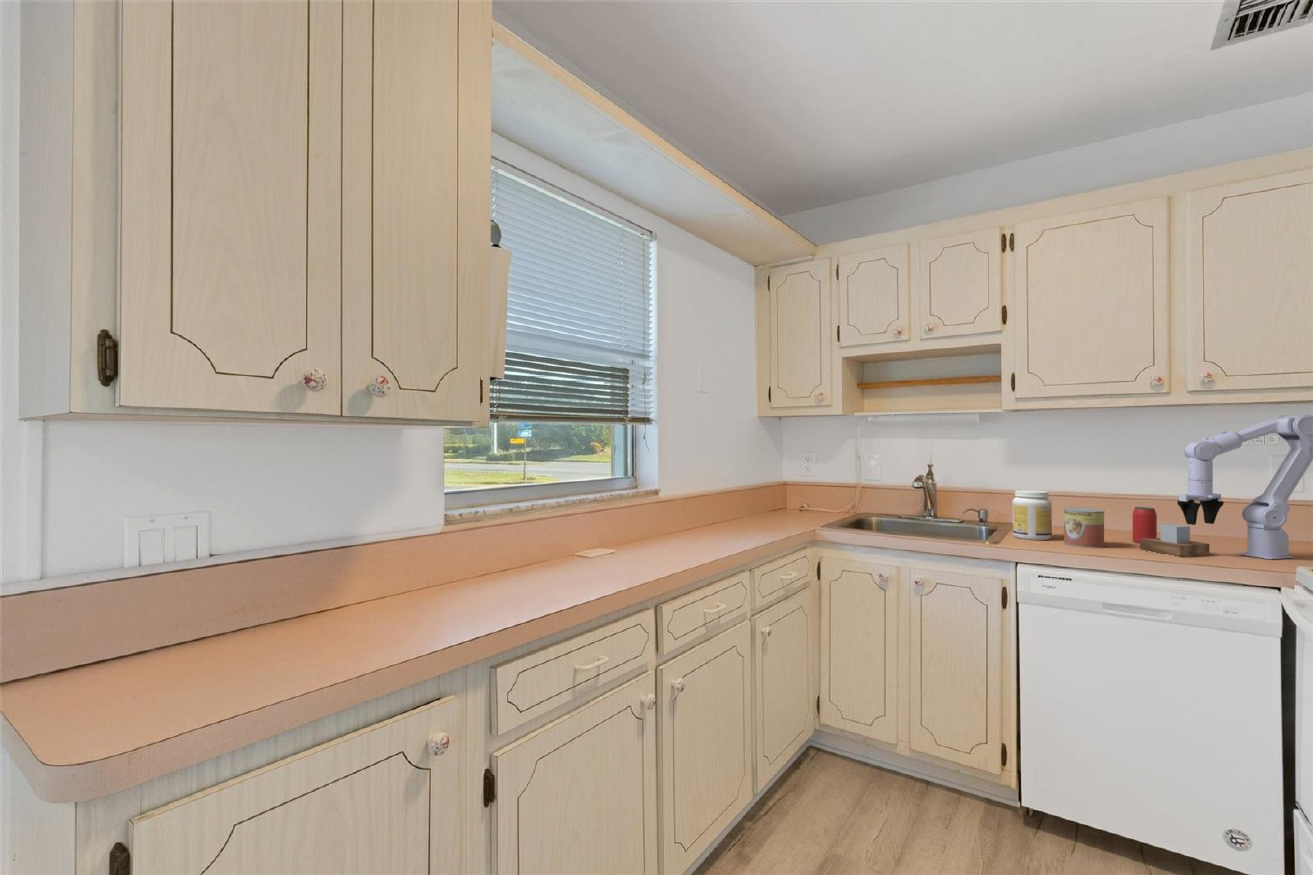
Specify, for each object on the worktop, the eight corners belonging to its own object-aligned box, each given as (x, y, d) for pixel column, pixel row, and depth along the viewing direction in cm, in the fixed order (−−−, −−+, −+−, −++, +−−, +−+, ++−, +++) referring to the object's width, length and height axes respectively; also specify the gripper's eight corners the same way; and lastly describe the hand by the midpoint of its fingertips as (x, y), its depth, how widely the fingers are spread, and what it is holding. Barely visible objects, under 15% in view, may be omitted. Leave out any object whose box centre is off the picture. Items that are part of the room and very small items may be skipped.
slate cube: (1173, 539, 196) (1173, 524, 196) (1189, 542, 191) (1189, 526, 191) (1160, 540, 195) (1160, 524, 195) (1176, 543, 190) (1176, 527, 190)
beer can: (1161, 544, 207) (1161, 509, 207) (1139, 544, 208) (1139, 508, 208) (1149, 541, 213) (1149, 507, 213) (1128, 540, 215) (1128, 506, 215)
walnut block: (1168, 549, 200) (1168, 537, 200) (1209, 556, 189) (1209, 543, 189) (1140, 551, 197) (1140, 539, 197) (1180, 558, 186) (1180, 545, 186)
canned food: (1056, 543, 210) (1056, 508, 210) (1077, 541, 214) (1077, 507, 214) (1090, 549, 199) (1090, 512, 199) (1112, 546, 204) (1112, 510, 204)
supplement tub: (1049, 536, 224) (1049, 490, 223) (1053, 541, 213) (1053, 493, 213) (1011, 534, 229) (1011, 489, 229) (1013, 539, 218) (1013, 492, 218)
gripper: (1197, 481, 185) (1197, 526, 185) (1232, 480, 188) (1232, 524, 188) (1172, 480, 191) (1172, 523, 191) (1206, 479, 195) (1206, 521, 195)
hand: (1200, 523), depth 190 cm, fingers open, 7 cm apart
